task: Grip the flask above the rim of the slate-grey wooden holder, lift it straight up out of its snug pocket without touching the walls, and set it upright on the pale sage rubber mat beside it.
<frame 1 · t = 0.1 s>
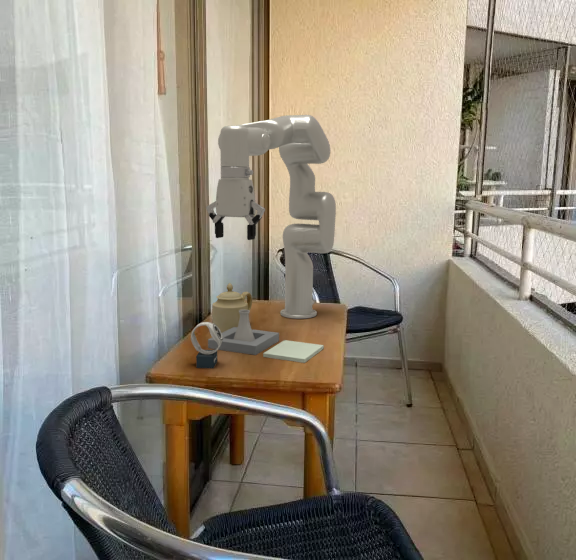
hand: (235, 238, 159), 31 cm above the table, fingers open, 9 cm apart
flask: (244, 345, 169), on the table
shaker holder: (244, 344, 169), on the table
sage mat: (294, 352, 162), on the table
watch: (207, 365, 151), on the table
sugar bowl: (231, 329, 187), on the table
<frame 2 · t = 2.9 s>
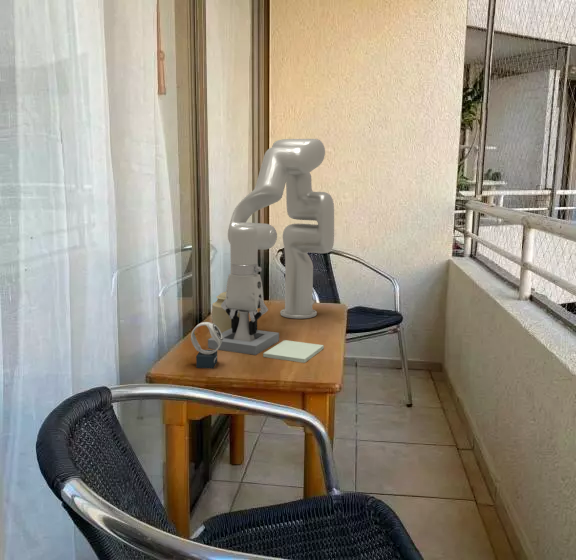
hand: (244, 332, 169), 4 cm above the table, fingers closed on flask, 4 cm apart
flask: (244, 345, 169), on the table, touching gripper
everything else where it was.
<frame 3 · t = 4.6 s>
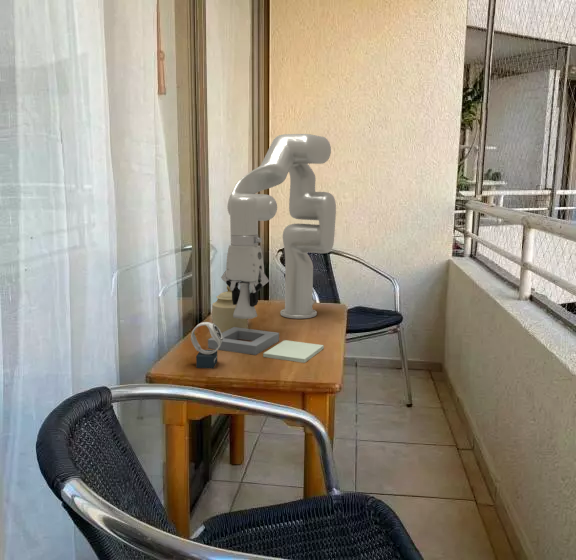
hand: (245, 303, 168), 12 cm above the table, fingers closed on flask, 4 cm apart
flask: (245, 317, 169), point 8 cm above the table, touching gripper
everything else where it was.
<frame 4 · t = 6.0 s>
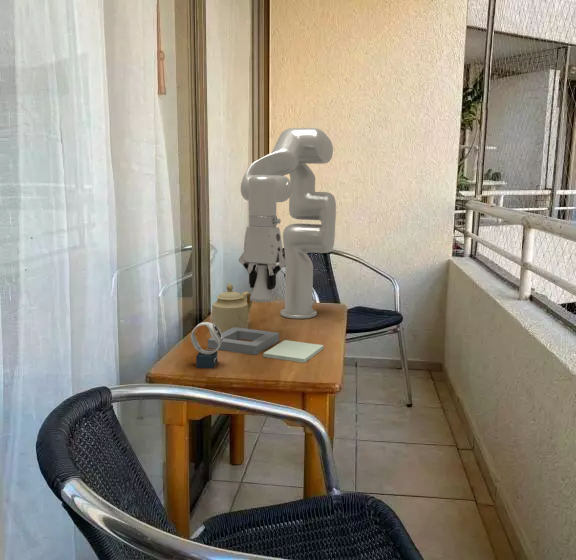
hand: (262, 287, 164), 17 cm above the table, fingers closed on flask, 4 cm apart
flask: (262, 300, 164), point 13 cm above the table, touching gripper
everything else where it was.
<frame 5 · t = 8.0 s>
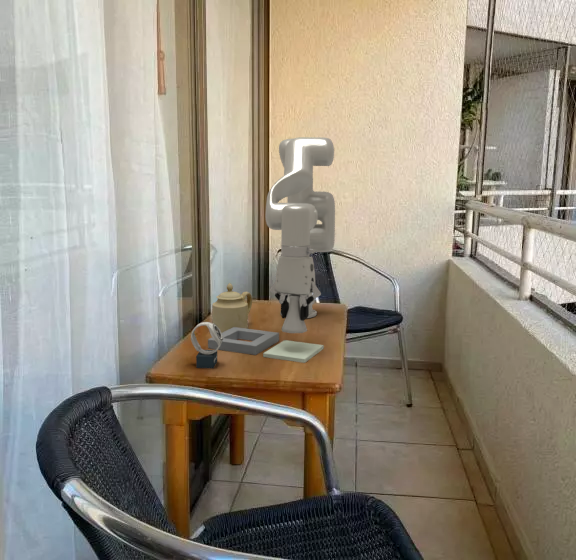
hand: (294, 317, 160), 10 cm above the table, fingers closed on flask, 4 cm apart
flask: (294, 331, 161), point 6 cm above the table, touching gripper
everything else where it was.
when the fingers open (6 cm above the table, at t = 9.5 s): flask drops 1 cm, resting on sage mat.
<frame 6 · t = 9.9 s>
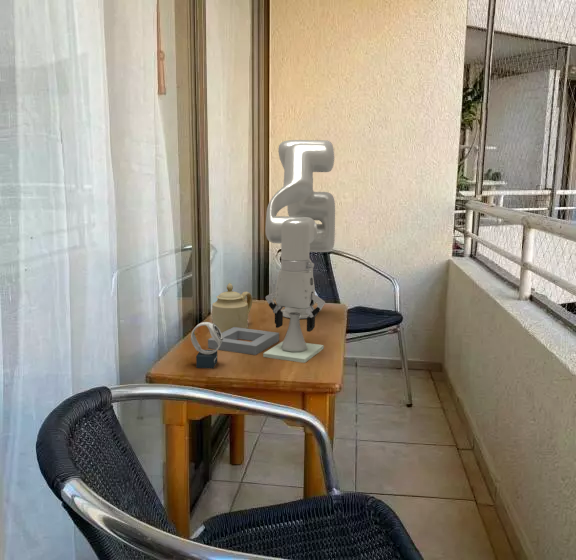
hand: (294, 328, 161), 7 cm above the table, fingers open, 8 cm apart
flask: (294, 349, 162), point 1 cm above the table, touching sage mat
everything else where it was.
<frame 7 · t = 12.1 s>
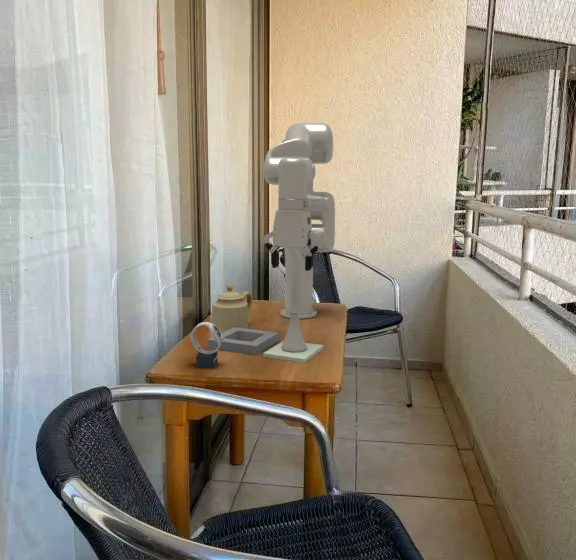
hand: (291, 268, 160), 23 cm above the table, fingers open, 9 cm apart
nothing on the table moved.
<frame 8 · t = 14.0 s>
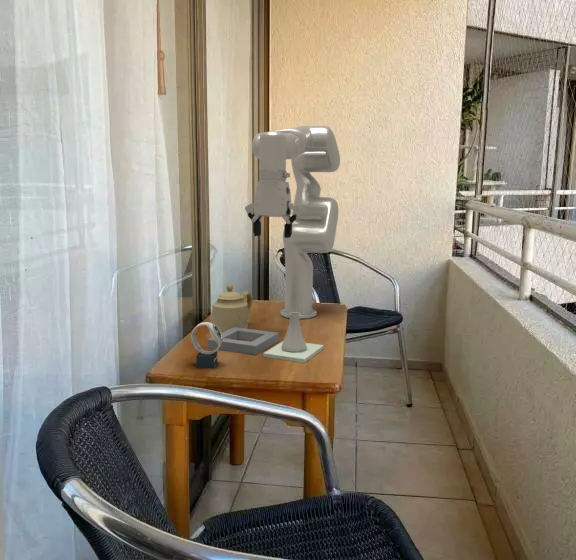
hand: (272, 236, 171), 30 cm above the table, fingers open, 9 cm apart
nothing on the table moved.
at the end: flask inside the target area on the sage mat (0.2 cm from its centre), point 0.8 cm above the sage mat's base; flask tilted 0°; the gripper is holding nothing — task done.
